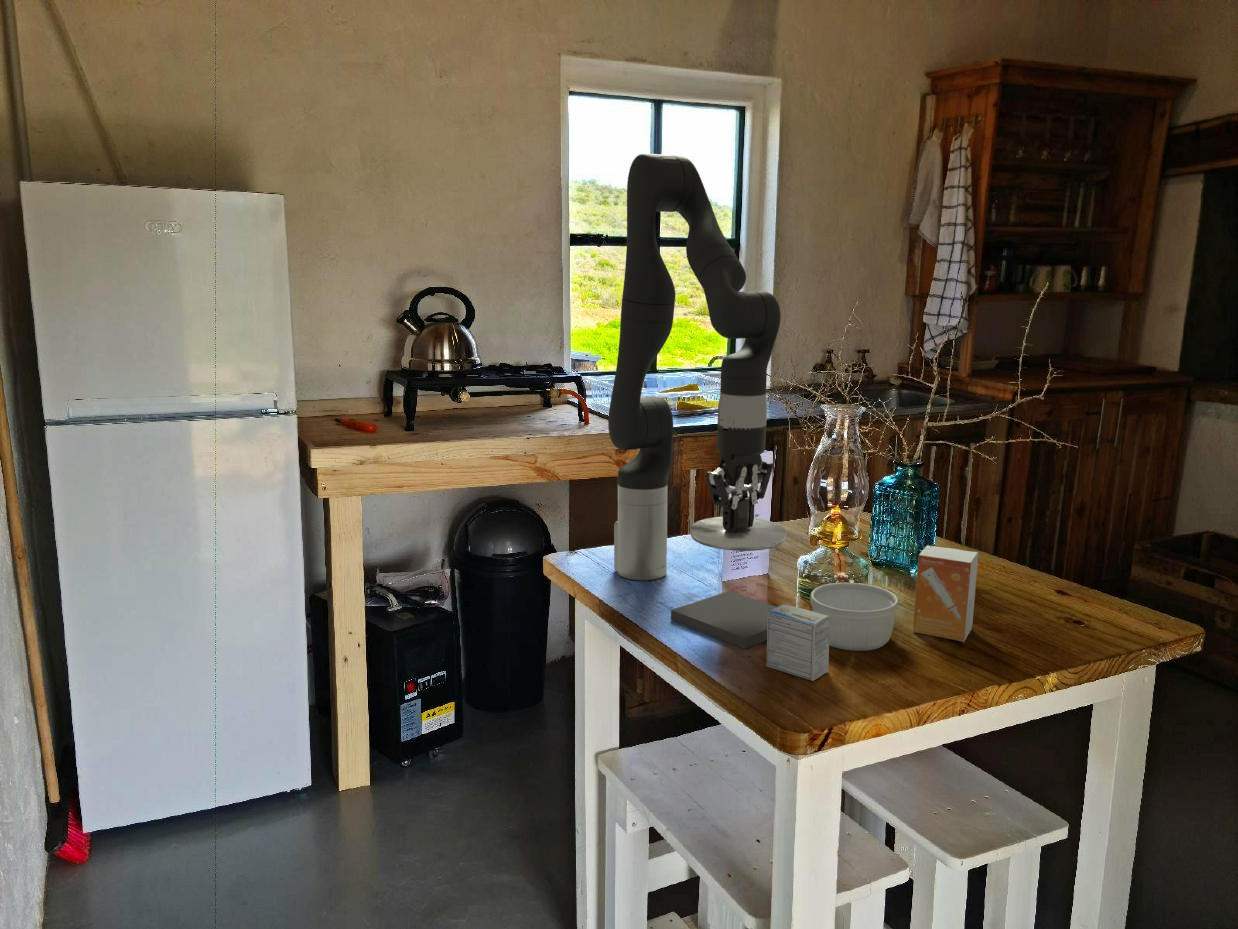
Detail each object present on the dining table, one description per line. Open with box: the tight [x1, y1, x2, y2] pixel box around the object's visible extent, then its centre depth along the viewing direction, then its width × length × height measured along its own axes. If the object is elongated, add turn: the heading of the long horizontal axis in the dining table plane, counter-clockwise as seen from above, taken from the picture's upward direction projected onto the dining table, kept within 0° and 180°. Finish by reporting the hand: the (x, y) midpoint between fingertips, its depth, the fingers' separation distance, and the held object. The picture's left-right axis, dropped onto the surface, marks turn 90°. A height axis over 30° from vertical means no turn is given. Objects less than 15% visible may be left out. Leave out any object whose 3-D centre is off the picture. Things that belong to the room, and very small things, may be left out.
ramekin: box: [809, 582, 899, 652], centre depth 152 cm, size 13×13×7 cm
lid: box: [690, 495, 787, 552], centre depth 155 cm, size 15×15×6 cm
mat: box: [670, 590, 777, 649], centre depth 158 cm, size 16×14×2 cm
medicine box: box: [765, 603, 830, 682], centre depth 140 cm, size 8×4×9 cm, turn 48°
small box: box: [912, 545, 979, 643], centre depth 154 cm, size 8×6×13 cm
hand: (738, 528), depth 155 cm, fingers closed on lid, 3 cm apart
